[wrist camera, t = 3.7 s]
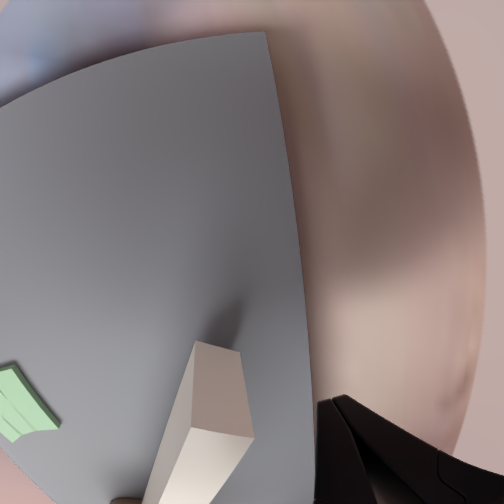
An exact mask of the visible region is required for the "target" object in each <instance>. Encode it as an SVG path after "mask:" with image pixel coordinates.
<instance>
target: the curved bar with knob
mask: <svg viewBox="0 0 504 504" xmlns="http://www.w3.org/2000/svg"><path fill="white" fill-rule="evenodd" d="M254 439H255V437H254V432H253V426H252V421H251V415H250V409H249V404H248V398H247V392H246V386H245V381H244V375H243V369H242V363H241V357H240V352H237V351H233V350H229V349H225V348H222V347H218V346H214V345H211V344H207V343H203V342H200V341H195V344H194V346H193V349H192V352H191V355H190V358H189V361H188V364H187V367H186V369H185V372H184V375H183V378H182V381H181V384H180V387H179V390H178V393H177V396H176V399H175V402H174V405H173V408H172V411H171V414H170V417H169V420H168V423H167V426H166V429H165V432H164V435H163V438H162V441H161V444H160V447H159V450H158V453H157V456H156V459H155V463H154V466H153V469H152V472H151V475H150V478H149V481H148V485H147V488H146V491H145V494H144V498H143V500H140V499H128V498H125V499H116V500H113V501H111V502H110V504H209V503H210V502H211V501H212V499H213V498H214V497H215V495H216V494H217V493H218V491H219V490H220V489H221V487H222V486H223V484H224V483H225V482H226V480H227V479H228V477H229V476H230V474H231V473H232V472H233V470H234V469H235V467H236V466H237V464H238V463H239V461H240V460H241V458H242V457H243V455H244V454H245V452H246V451H247V449H248V448H249V446H250V445H251V443H252V442H253V440H254Z"/></svg>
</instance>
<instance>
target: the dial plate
mask: <svg viewBox="0 0 504 504" xmlns="http://www.w3.org/2000/svg"><path fill="white" fill-rule="evenodd" d="M195 341H200V342H203V343H207V344H211V345H214V346H218V347H222V348H225V349H229V350H233V351H237V352H240V357H241V363H242V369H243V375H244V381H245V386H246V392H247V398H248V404H249V409H250V415H251V421H252V426H253V432H254V437H255V439H254V440H253V442H252V443H251V445H250V446H249V448H248V449H247V451H246V452H245V454H244V455H243V457H242V458H241V460H240V461H239V463H238V464H237V466H236V467H235V469H234V470H233V472H232V473H231V474H230V476H229V477H228V479H227V480H226V482H225V483H224V484H223V486H222V487H221V489H220V490H219V491H218V493H217V494H216V495H215V497H214V498H213V499H212V501H211V502H210V503H209V504H313V501H314V482H315V453H314V424H313V403H312V385H311V369H310V354H309V341H308V328H307V317H306V306H305V295H304V285H303V275H302V265H301V256H300V247H299V239H298V230H297V222H296V214H295V207H294V199H293V192H292V184H291V177H290V170H289V163H288V157H287V150H286V144H285V137H284V131H283V125H282V119H281V113H280V107H279V101H278V96H277V90H276V84H275V79H274V74H273V68H272V63H271V58H270V53H269V48H268V43H267V38H266V33H265V31H257V32H244V33H234V34H225V35H217V36H210V37H203V38H197V39H191V40H185V41H180V42H175V43H170V44H166V45H161V46H157V47H152V48H148V49H144V50H141V51H137V52H133V53H130V54H126V55H123V56H119V57H116V58H113V59H110V60H107V61H104V62H101V63H98V64H95V65H92V66H89V67H87V68H84V69H81V70H79V71H76V72H73V73H71V74H68V75H66V76H64V77H61V78H59V79H57V80H54V81H52V82H50V83H48V84H45V85H43V86H41V87H39V88H37V89H35V90H33V91H31V92H29V93H27V94H25V95H23V96H21V97H19V98H17V99H15V100H13V101H12V102H10V103H8V104H6V105H4V106H3V107H1V108H0V447H1V448H2V450H3V451H4V452H5V453H6V454H7V455H8V457H9V458H10V459H11V460H12V461H13V462H14V463H15V464H16V465H17V466H18V468H19V469H21V471H22V472H23V473H24V474H25V475H26V476H27V477H28V478H29V479H30V480H31V481H32V482H33V483H34V484H35V485H36V486H37V487H39V489H41V490H42V491H43V492H44V493H45V494H46V495H47V496H48V497H49V498H50V499H52V500H53V501H54V502H55V503H56V504H110V502H111V501H113V500H116V499H125V498H128V499H140V500H143V498H144V494H145V491H146V488H147V485H148V481H149V478H150V475H151V472H152V469H153V466H154V463H155V459H156V456H157V453H158V450H159V447H160V444H161V441H162V438H163V435H164V432H165V429H166V426H167V423H168V420H169V417H170V414H171V411H172V408H173V405H174V402H175V399H176V396H177V393H178V390H179V387H180V384H181V381H182V378H183V375H184V372H185V369H186V367H187V364H188V361H189V358H190V355H191V352H192V349H193V346H194V344H195Z"/></svg>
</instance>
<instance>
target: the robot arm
mask: <svg viewBox="0 0 504 504" xmlns="http://www.w3.org/2000/svg"><path fill="white" fill-rule="evenodd" d="M313 504H504V476H503V475H500V474H496V473H493V472H490V471H487V470H484V469H481V468H478V467H476V466H473V465H470V464H468V463H465V462H463V461H460V460H459V459H457V458H454V457H452V456H450V455H448V454H447V453H445V452H443V451H441V450H438V449H437V448H435V447H433V446H432V445H430V444H428V443H426V442H424V441H423V440H421V439H419V438H417V437H416V436H414V435H412V434H410V433H409V432H407V431H405V430H403V429H402V428H400V427H398V426H397V425H395V424H393V423H391V422H390V421H388V420H386V419H385V418H383V417H382V416H380V415H378V414H377V413H375V412H373V411H372V410H370V409H368V408H367V407H365V406H364V405H362V404H360V403H359V402H357V401H356V400H354V399H353V398H351V397H349V396H348V395H345V394H343V395H340V396H336V397H333V398H332V399H326V400H322V401H319V402H317V430H316V462H315V482H314V501H313Z"/></svg>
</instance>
